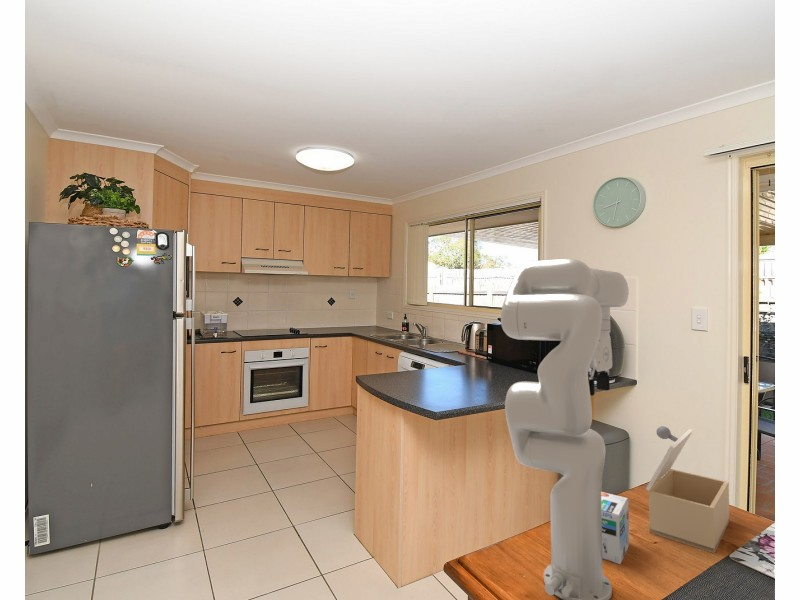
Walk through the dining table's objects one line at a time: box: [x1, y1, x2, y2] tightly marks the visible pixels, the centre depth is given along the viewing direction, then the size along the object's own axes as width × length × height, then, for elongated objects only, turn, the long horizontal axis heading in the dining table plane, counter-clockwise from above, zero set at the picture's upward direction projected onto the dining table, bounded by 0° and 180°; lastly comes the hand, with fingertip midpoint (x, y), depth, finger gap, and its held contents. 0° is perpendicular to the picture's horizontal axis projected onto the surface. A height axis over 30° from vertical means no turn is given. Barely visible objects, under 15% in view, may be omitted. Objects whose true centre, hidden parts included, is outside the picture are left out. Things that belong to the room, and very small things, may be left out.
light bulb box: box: [601, 491, 630, 565], centre depth 100 cm, size 11×7×11 cm, turn 143°
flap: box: [645, 425, 694, 492], centre depth 114 cm, size 20×13×6 cm
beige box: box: [648, 468, 730, 554], centre depth 109 cm, size 20×13×10 cm, turn 135°
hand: (595, 392), depth 114 cm, fingers open, 9 cm apart
